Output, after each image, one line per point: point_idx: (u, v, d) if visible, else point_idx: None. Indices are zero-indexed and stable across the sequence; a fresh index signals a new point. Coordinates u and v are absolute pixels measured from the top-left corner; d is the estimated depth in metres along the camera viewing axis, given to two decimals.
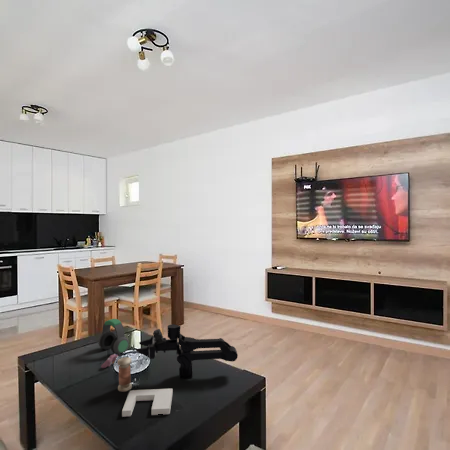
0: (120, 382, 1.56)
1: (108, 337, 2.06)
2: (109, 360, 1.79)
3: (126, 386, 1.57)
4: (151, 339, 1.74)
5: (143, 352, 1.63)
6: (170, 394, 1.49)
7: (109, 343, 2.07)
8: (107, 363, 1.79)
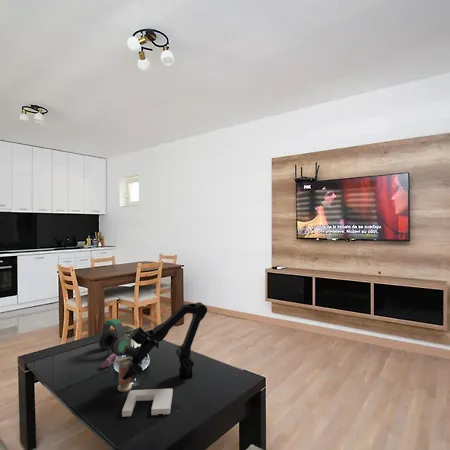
0: (120, 382, 1.56)
1: (108, 337, 2.06)
2: (108, 360, 1.80)
3: (126, 386, 1.57)
4: None
5: (130, 374, 1.54)
6: (170, 394, 1.49)
7: (109, 343, 2.07)
8: (106, 363, 1.79)
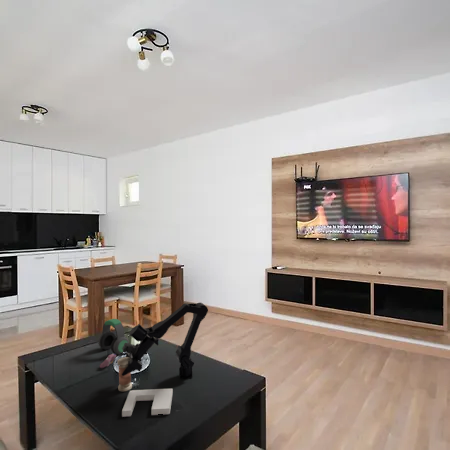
0: (120, 382, 1.57)
1: (108, 337, 2.06)
2: (107, 360, 1.80)
3: (126, 386, 1.57)
4: None
5: (129, 370, 1.55)
6: (170, 394, 1.49)
7: (109, 343, 2.07)
8: (105, 363, 1.79)
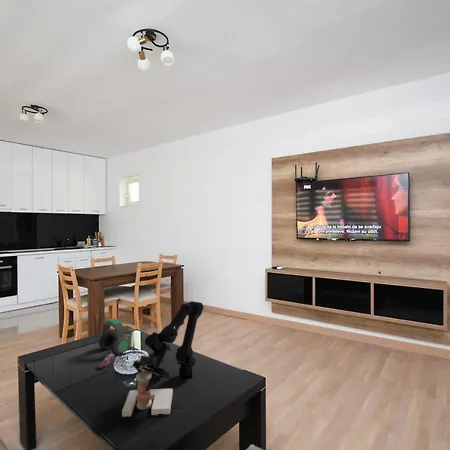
0: (143, 400, 1.41)
1: (108, 337, 2.06)
2: (106, 360, 1.80)
3: (148, 402, 1.44)
4: (141, 371, 1.47)
5: (153, 383, 1.43)
6: (170, 394, 1.49)
7: (109, 343, 2.07)
8: (104, 363, 1.79)
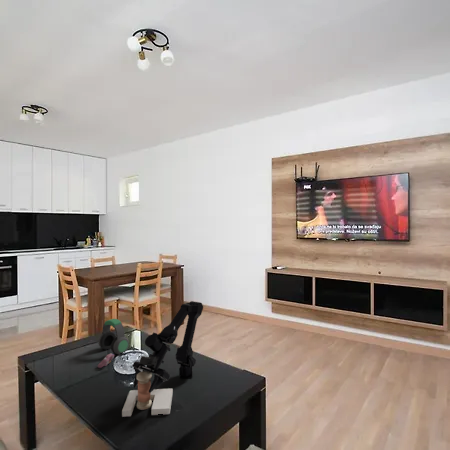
0: (143, 399, 1.42)
1: (108, 337, 2.06)
2: (106, 360, 1.80)
3: (148, 402, 1.44)
4: (138, 371, 1.48)
5: (156, 384, 1.42)
6: (170, 394, 1.49)
7: (109, 343, 2.07)
8: (104, 363, 1.79)
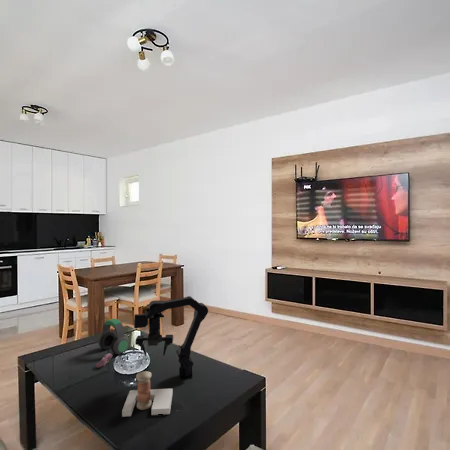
0: (143, 399, 1.42)
1: (108, 337, 2.06)
2: (104, 359, 1.80)
3: (148, 402, 1.44)
4: (144, 345, 1.64)
5: None
6: (170, 394, 1.49)
7: (109, 343, 2.07)
8: (102, 362, 1.79)
